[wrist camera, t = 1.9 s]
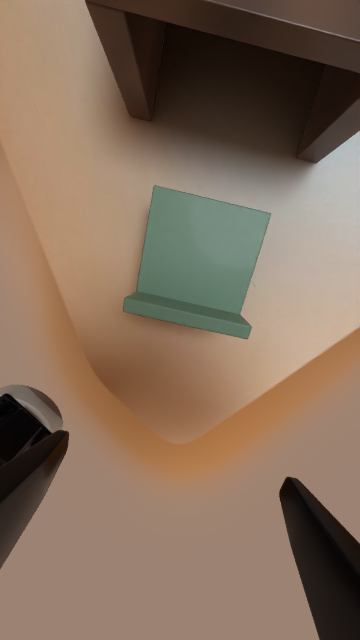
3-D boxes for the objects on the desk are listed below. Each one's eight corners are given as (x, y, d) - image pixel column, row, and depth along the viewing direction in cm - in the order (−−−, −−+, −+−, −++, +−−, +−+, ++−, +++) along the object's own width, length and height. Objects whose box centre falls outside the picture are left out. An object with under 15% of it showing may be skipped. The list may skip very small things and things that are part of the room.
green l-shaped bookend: (143, 294, 17) (122, 311, 11) (160, 200, 15) (144, 163, 10) (227, 313, 17) (248, 340, 12) (254, 223, 15) (294, 200, 10)
